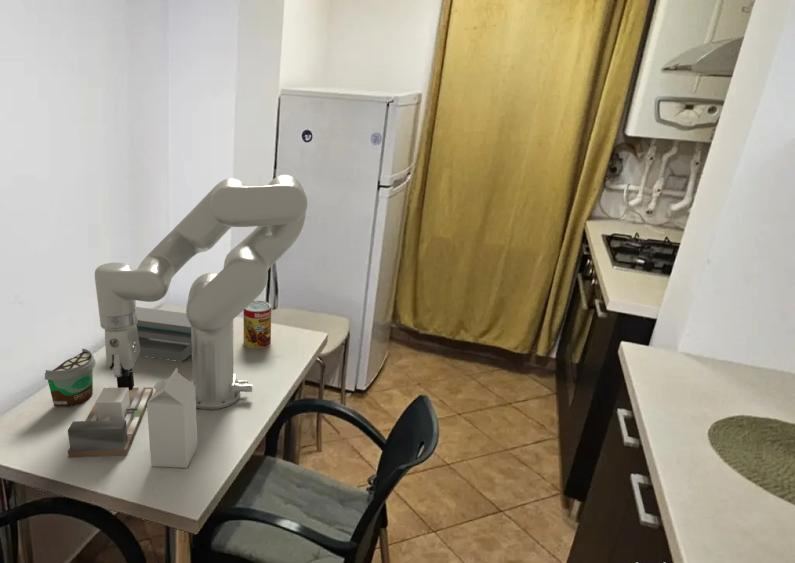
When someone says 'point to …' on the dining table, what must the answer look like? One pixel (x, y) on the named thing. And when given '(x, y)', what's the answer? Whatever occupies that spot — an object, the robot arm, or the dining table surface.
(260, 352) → the dining table surface
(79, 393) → the food container
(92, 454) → the gauge board
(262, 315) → the canned food
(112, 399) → the gauge carriage
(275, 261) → the robot arm
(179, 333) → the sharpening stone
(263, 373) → the dining table surface
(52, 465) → the dining table surface
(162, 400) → the milk carton
